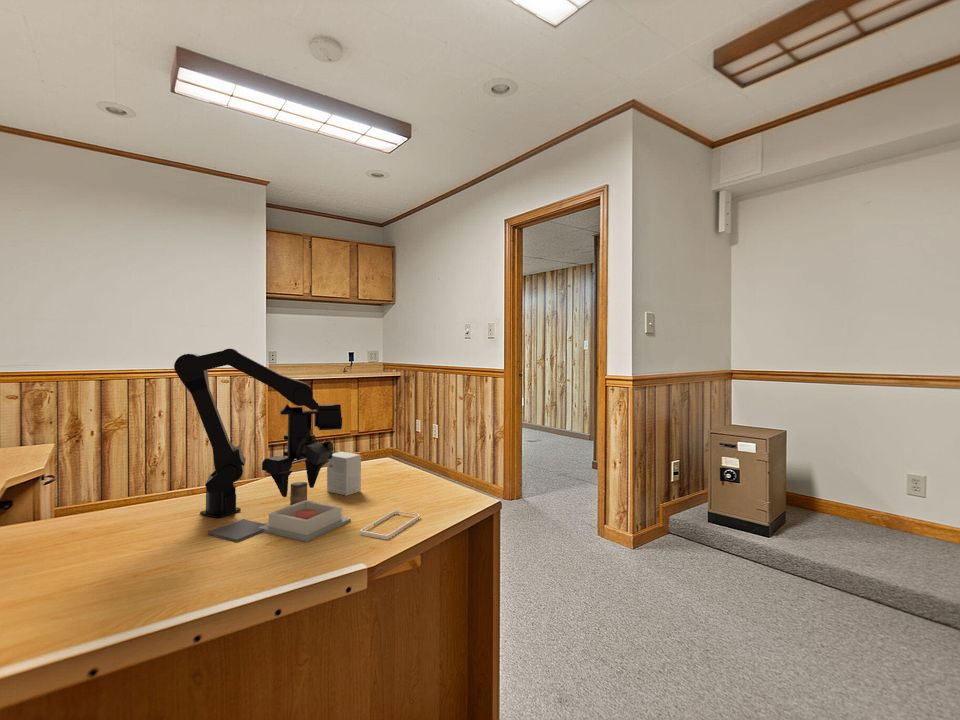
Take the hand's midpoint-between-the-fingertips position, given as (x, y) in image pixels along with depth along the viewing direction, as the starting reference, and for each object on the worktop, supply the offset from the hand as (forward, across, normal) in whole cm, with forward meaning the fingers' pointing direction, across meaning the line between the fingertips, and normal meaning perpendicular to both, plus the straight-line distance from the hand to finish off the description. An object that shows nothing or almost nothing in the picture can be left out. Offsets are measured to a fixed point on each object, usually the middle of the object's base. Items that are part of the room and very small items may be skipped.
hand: (298, 492), depth 124 cm
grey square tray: (+3, -10, -12) cm, 16 cm away
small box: (+4, +15, -2) cm, 16 cm away
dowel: (+3, 0, 0) cm, 3 cm away
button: (+2, -10, -12) cm, 16 cm away
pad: (+3, -19, -2) cm, 19 cm away
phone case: (+4, -1, -29) cm, 29 cm away
